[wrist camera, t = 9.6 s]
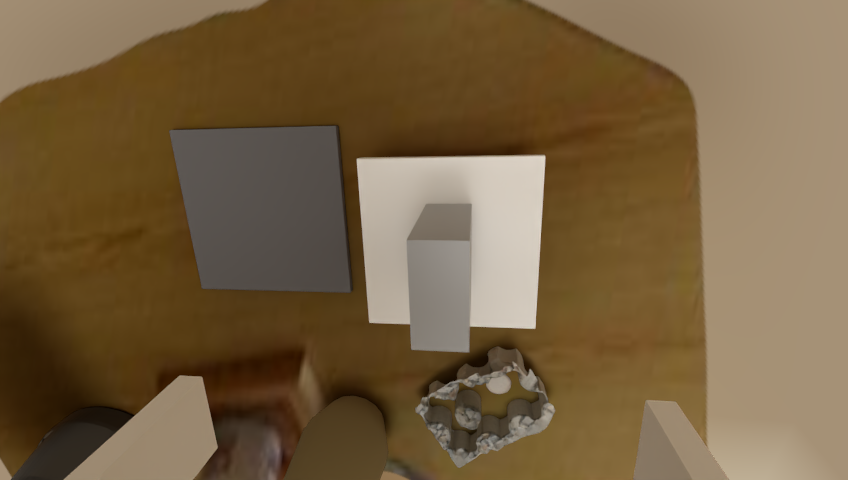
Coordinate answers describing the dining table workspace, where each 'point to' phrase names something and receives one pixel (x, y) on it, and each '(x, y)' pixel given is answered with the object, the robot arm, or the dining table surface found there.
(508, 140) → the dining table surface
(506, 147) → the dining table surface
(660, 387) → the dining table surface
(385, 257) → the cover sheet
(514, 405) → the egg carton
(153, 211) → the dining table surface
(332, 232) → the rubber mat
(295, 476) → the squeeze bottle
